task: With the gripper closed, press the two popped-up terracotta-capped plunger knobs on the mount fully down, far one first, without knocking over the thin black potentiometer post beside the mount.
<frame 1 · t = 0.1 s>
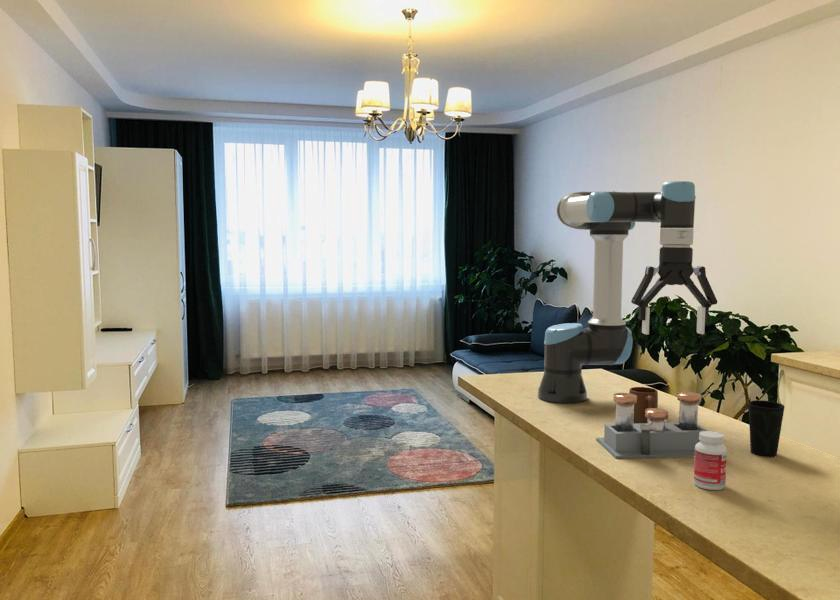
hand: (672, 333, 168), 28 cm above the table, fingers open, 13 cm apart
cup: (763, 454, 164), on the table
pot post: (645, 453, 163), point 1 cm above the table, touching mount
pill bottle: (709, 486, 144), on the table
mount: (655, 447, 169), on the table
knob mid: (656, 427, 168), point 5 cm above the table, slide at 4.0 cm
knob far: (688, 411, 168), point 9 cm above the table, slide at 0.0 cm
knob near: (624, 412, 167), point 9 cm above the table, slide at 0.0 cm
mug: (644, 426, 188), on the table
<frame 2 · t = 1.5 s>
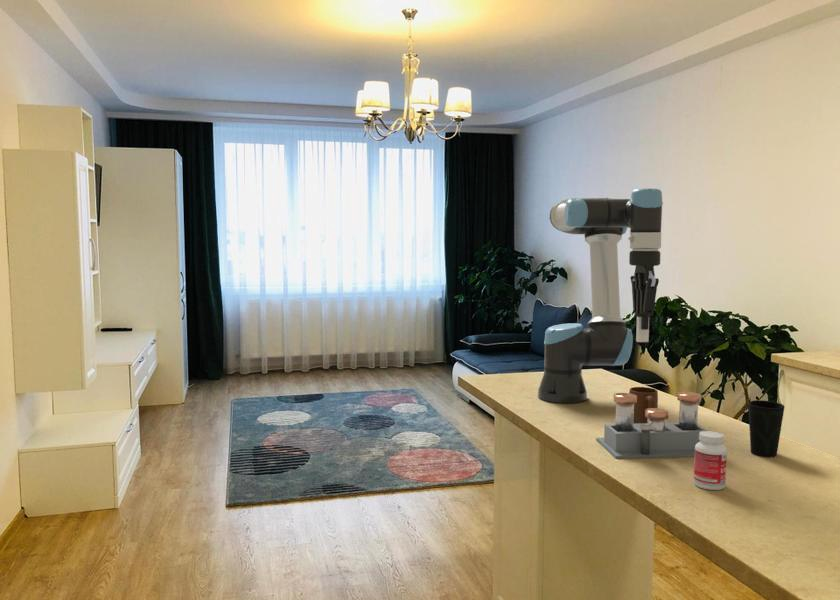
hand: (642, 341, 178), 24 cm above the table, fingers closed
nothing on the table moved.
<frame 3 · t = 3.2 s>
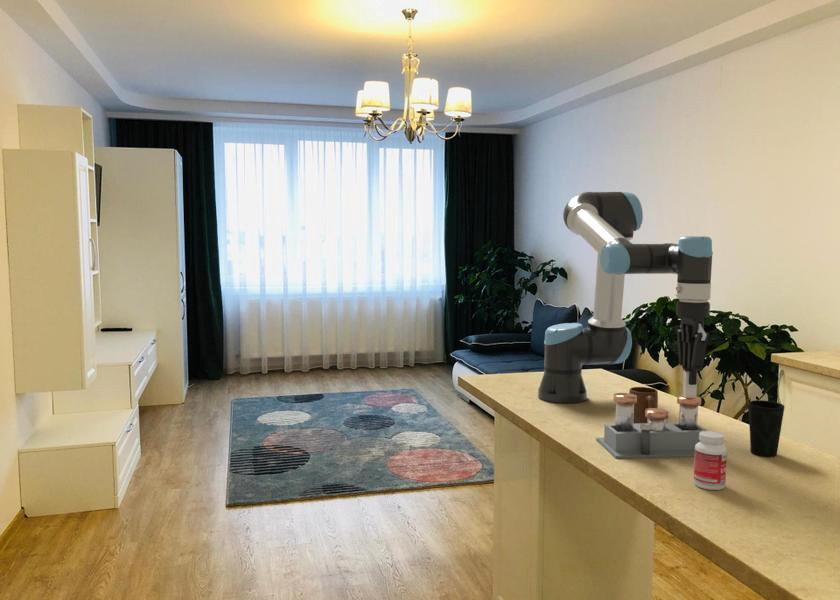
hand: (689, 396, 168), 13 cm above the table, fingers closed
knob far: (688, 414, 168), point 8 cm above the table, slide at 0.8 cm, touching gripper
everything else where it was.
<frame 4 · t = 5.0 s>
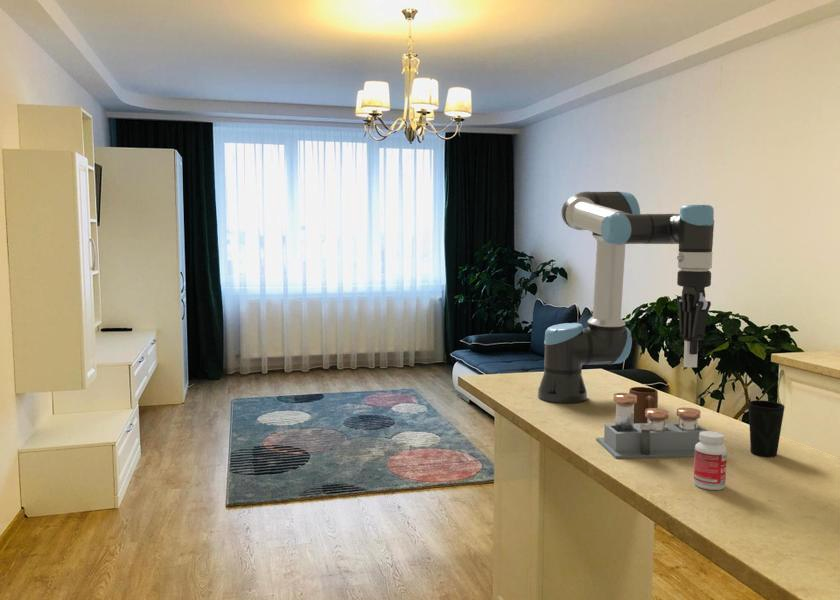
hand: (690, 366, 167), 20 cm above the table, fingers closed
knob far: (688, 427, 169), point 5 cm above the table, slide at 4.0 cm
everything else where it was.
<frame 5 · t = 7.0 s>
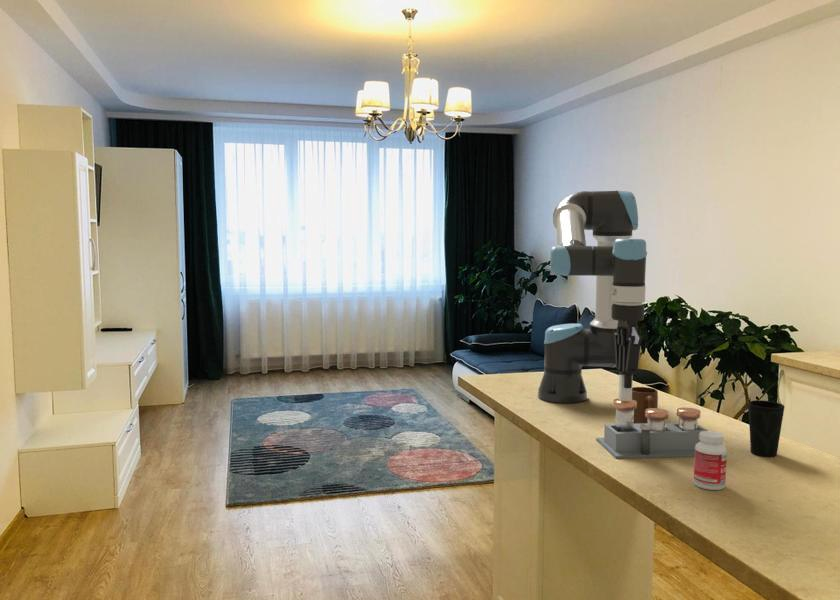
hand: (625, 400, 167), 12 cm above the table, fingers closed
knob near: (624, 418, 167), point 8 cm above the table, slide at 1.4 cm, touching gripper
everything else where it was.
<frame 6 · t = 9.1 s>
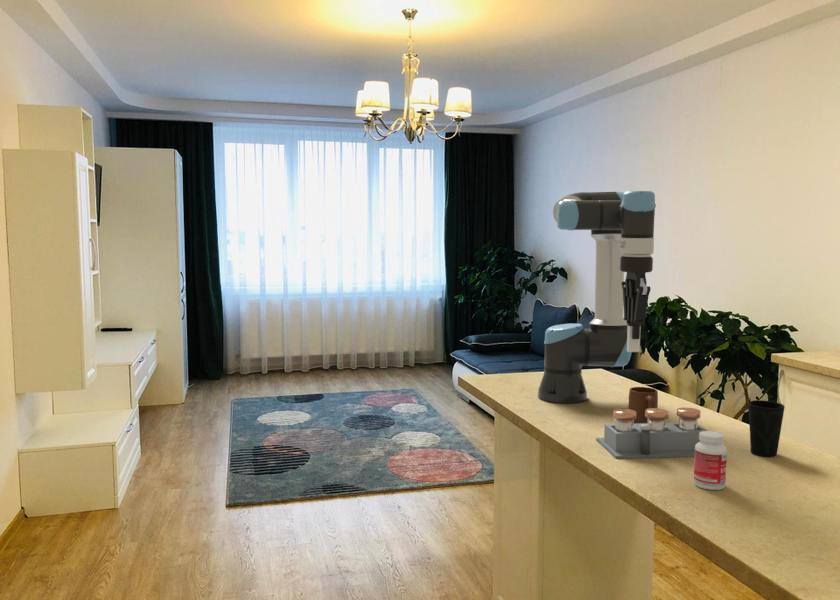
hand: (633, 351, 169), 23 cm above the table, fingers closed
knob near: (624, 428, 168), point 5 cm above the table, slide at 4.0 cm
everything else where it was.
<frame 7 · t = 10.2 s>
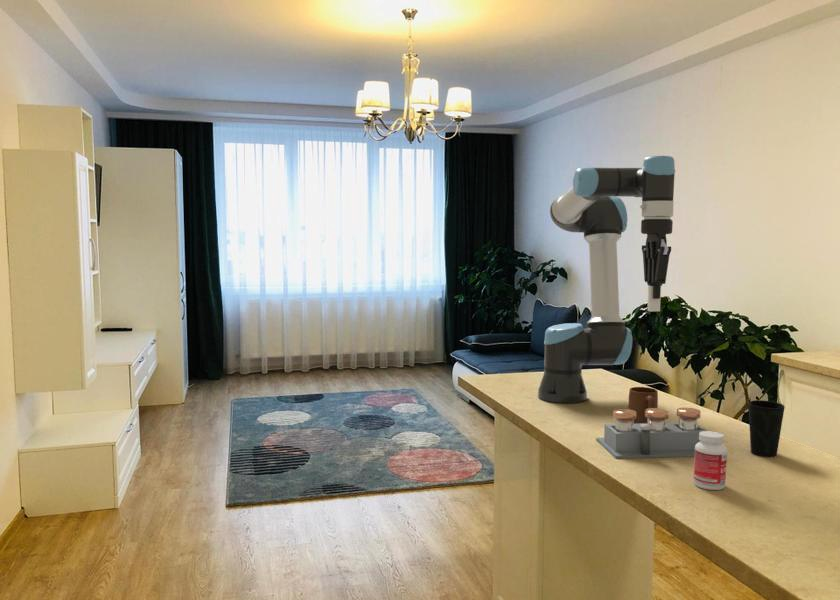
hand: (653, 310, 176), 32 cm above the table, fingers closed
nothing on the table moved.
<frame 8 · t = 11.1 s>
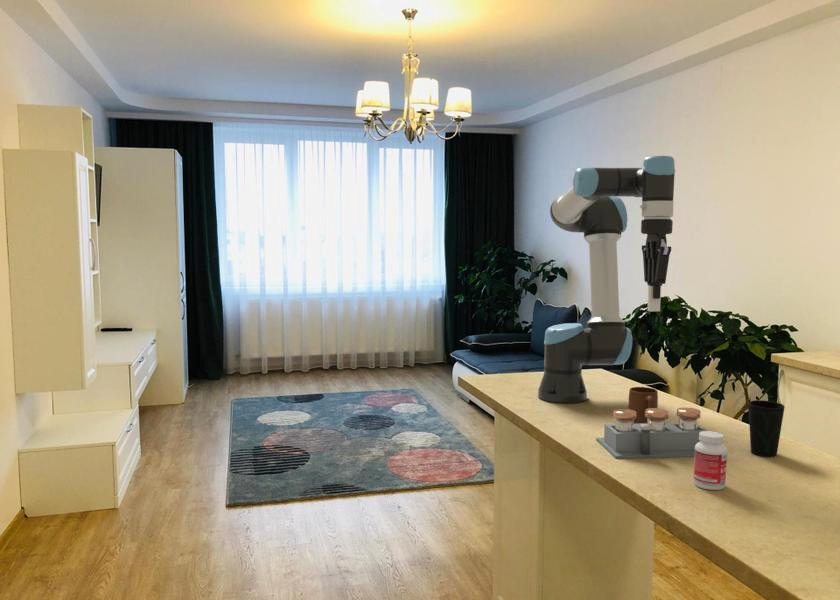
hand: (653, 310, 176), 32 cm above the table, fingers closed
nothing on the table moved.
at the end: knob far slide at 4.0 cm; knob near slide at 4.0 cm; pot post tilted 0° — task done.
